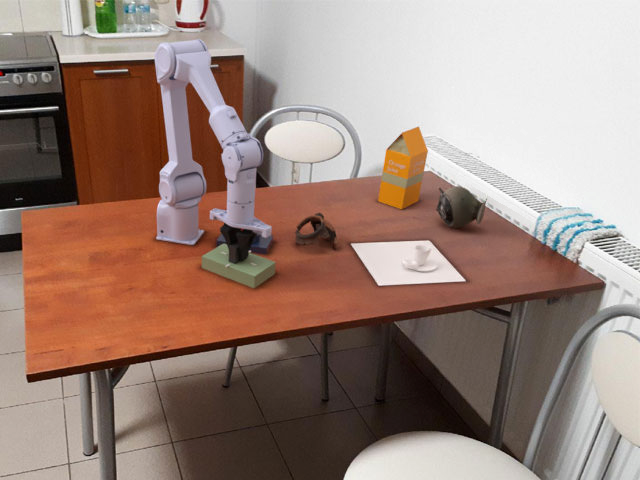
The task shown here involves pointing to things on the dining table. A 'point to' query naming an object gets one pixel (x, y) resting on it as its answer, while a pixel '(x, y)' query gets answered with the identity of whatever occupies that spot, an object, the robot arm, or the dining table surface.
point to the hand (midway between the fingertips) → (238, 257)
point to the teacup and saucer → (406, 263)
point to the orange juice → (403, 169)
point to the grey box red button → (258, 245)
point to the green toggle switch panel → (239, 267)
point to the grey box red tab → (234, 253)
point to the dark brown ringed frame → (316, 231)
